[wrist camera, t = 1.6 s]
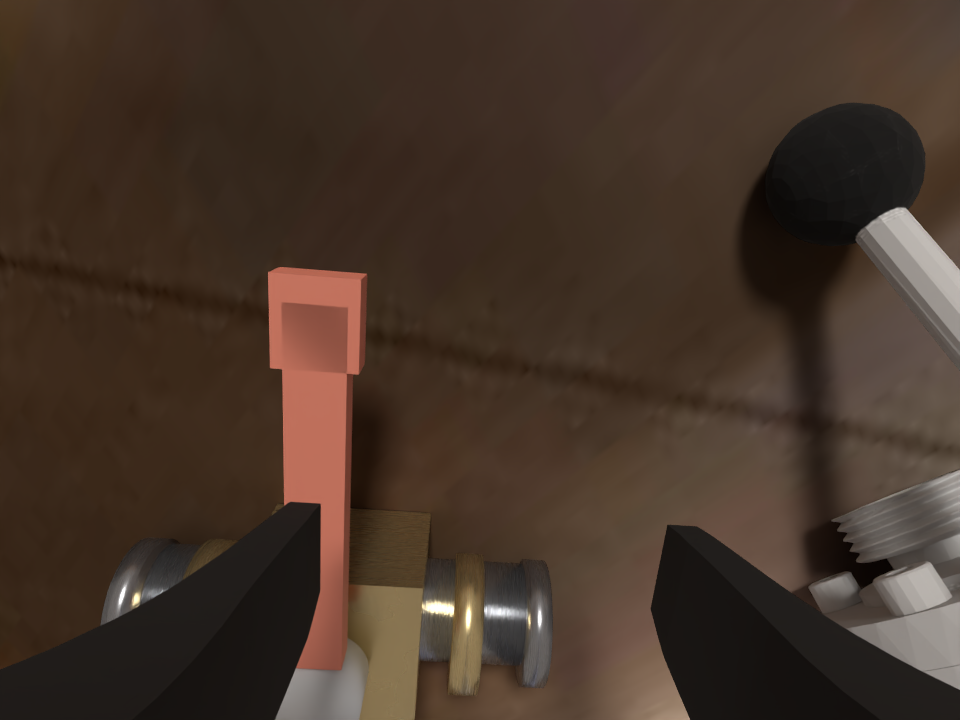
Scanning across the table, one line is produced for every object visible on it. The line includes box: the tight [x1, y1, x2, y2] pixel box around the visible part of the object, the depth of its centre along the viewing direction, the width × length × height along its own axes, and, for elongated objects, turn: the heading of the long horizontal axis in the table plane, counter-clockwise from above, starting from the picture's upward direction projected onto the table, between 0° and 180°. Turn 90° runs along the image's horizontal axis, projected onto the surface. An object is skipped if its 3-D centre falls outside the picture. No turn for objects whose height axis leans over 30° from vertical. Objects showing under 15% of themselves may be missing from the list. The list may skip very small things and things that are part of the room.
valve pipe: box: [101, 504, 553, 720], centre depth 22 cm, size 15×6×5 cm, turn 85°
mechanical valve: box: [765, 103, 960, 690], centre depth 20 cm, size 10×18×15 cm
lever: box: [268, 267, 369, 720], centre depth 17 cm, size 15×3×2 cm, turn 175°
